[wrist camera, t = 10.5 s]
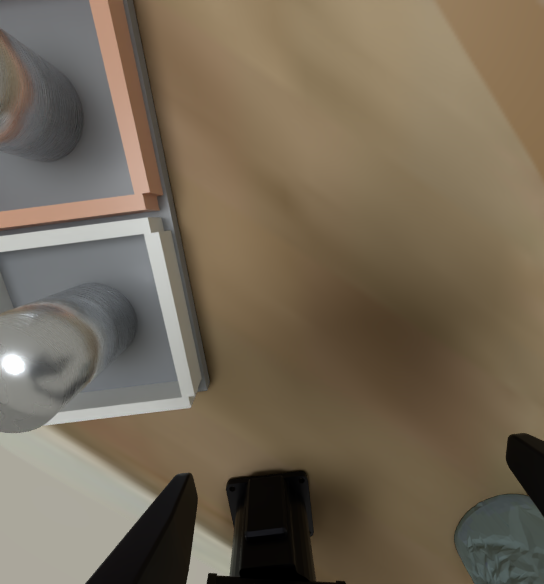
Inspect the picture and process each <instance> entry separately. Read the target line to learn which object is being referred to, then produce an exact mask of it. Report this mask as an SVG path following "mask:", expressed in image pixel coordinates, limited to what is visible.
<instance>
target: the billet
mask: <svg viewBox="0 0 544 584" xmlns="http://www.w3.org/2000/svg"><path fill="white" fill-rule="evenodd" d="M137 327H138V321H137V316H136V313H135V310H134V308H133V306H132V304H131V303H130V301H129V300H128V299H127V298H126V297H125V296H124V295H123V294H122V293H121V292H119V291H118V290H116V289H114V288H112V287H110V286H108V285H105V284H100V283H84V284H80V285H77V286H75V287H72V288H69V289H66V290H64V291H61V292H58V293H55V294H52V295H50V296H47V297H44V298H41V299H39V300H36V301H33V302H30V303H28V304H25V305H22V306H19V307H17V308H14V309H11V310H8V311H6V312H3V313H0V432H5V433H21V432H27V431H31V430H34V429H37V428H39V427H41V426H43V425H44V424H46V423H47V422H49V421H50V420H51V419H52V418H53V417H54V416H55V415H56V414H57V413H58V412H59V411H60V410H61V409H63V408H64V407H65V406H66V405H67V404H68V403H69V402H70V401H71V400H72V399H73V398H74V397H75V396H76V395H77V394H78V393H80V392H81V391H82V390H83V389H84V388H85V387H86V386H87V385H88V384H89V383H90V382H91V381H92V380H93V379H94V378H95V377H97V376H98V375H99V374H100V373H101V372H102V371H103V370H104V369H105V368H106V367H107V366H108V365H109V364H110V363H111V362H112V361H114V360H115V359H116V358H117V357H118V356H119V355H120V354H121V353H122V352H123V351H124V350H125V349H126V348H127V347H128V346H129V345H130V344H131V343H132V342H133V340H134V338H135V336H136V333H137Z"/></svg>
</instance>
